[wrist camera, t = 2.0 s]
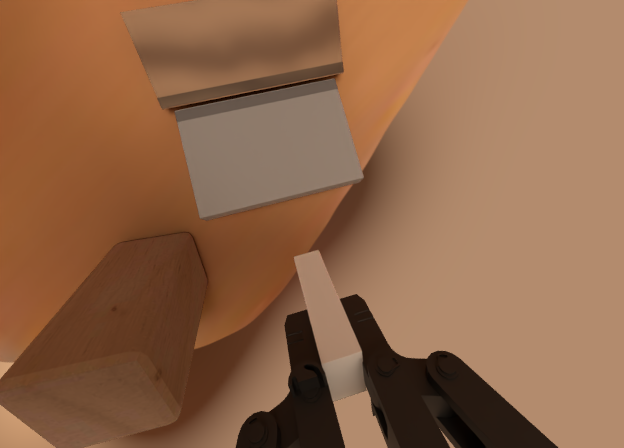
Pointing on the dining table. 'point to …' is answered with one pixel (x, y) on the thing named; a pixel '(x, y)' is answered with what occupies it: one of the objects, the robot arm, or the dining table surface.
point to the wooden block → (114, 347)
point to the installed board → (234, 46)
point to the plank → (267, 148)
